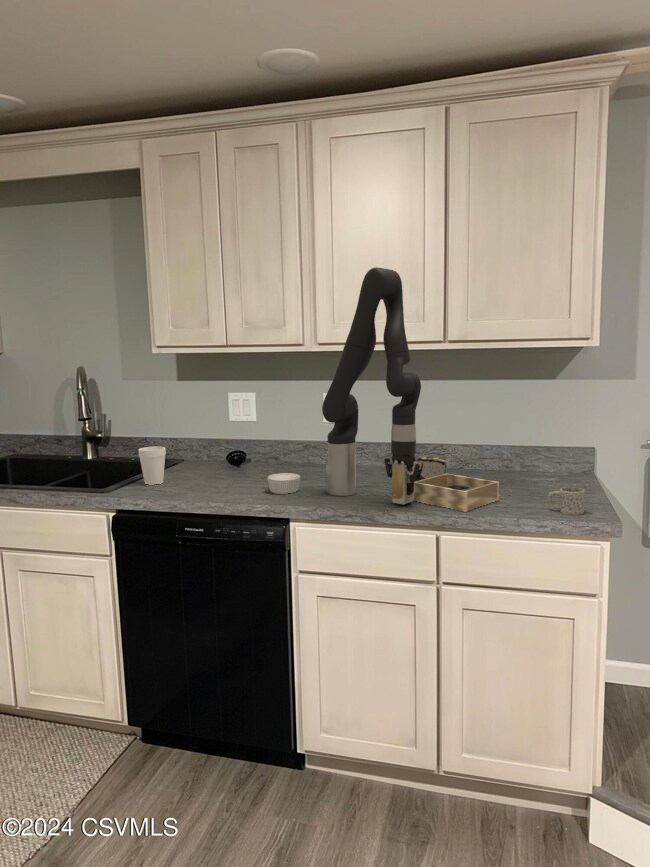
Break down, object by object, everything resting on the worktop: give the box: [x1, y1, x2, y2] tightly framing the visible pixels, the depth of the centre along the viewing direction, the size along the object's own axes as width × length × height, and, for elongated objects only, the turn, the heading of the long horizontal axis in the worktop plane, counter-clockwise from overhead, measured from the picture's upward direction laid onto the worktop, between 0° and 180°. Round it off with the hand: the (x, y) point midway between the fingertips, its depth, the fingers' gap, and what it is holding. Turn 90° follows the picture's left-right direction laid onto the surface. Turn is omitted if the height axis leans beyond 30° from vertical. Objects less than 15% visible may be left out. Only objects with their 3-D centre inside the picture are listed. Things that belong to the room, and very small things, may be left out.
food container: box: [415, 454, 450, 480], centre depth 233 cm, size 12×6×10 cm, turn 48°
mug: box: [547, 486, 586, 516], centre depth 196 cm, size 10×7×7 cm, turn 71°
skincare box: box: [391, 464, 414, 505], centre depth 207 cm, size 6×4×12 cm
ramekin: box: [267, 472, 301, 495], centre depth 229 cm, size 11×11×5 cm
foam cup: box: [138, 445, 167, 485], centre depth 244 cm, size 10×9×13 cm
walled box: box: [412, 472, 500, 513], centre depth 211 cm, size 20×18×6 cm
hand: (403, 492), depth 207 cm, fingers closed on skincare box, 4 cm apart
